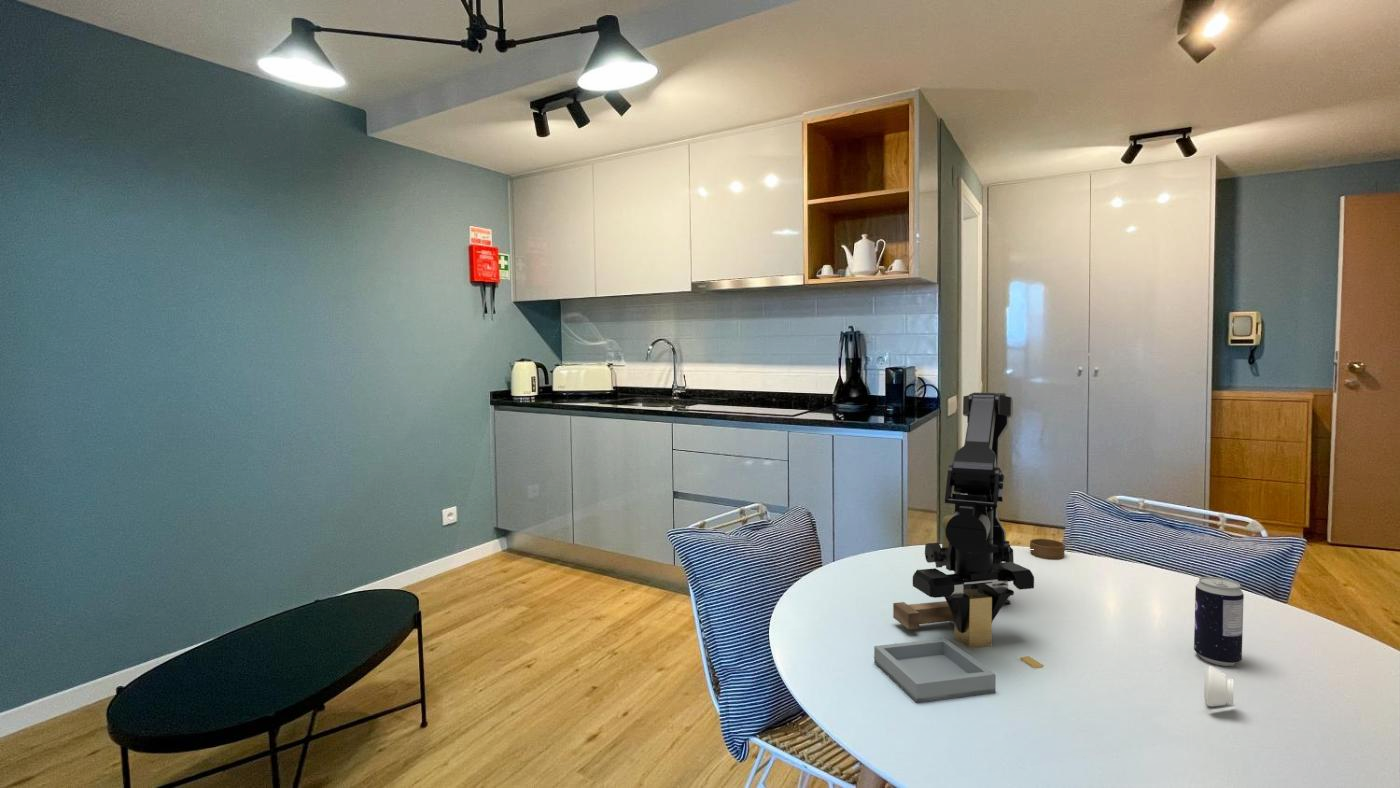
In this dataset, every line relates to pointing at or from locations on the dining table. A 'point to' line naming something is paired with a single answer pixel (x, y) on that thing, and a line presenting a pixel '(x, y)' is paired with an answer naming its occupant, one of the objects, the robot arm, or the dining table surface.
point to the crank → (921, 613)
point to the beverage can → (1218, 621)
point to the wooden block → (977, 620)
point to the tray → (934, 670)
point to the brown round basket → (1047, 549)
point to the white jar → (1217, 687)
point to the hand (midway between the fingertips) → (972, 630)
